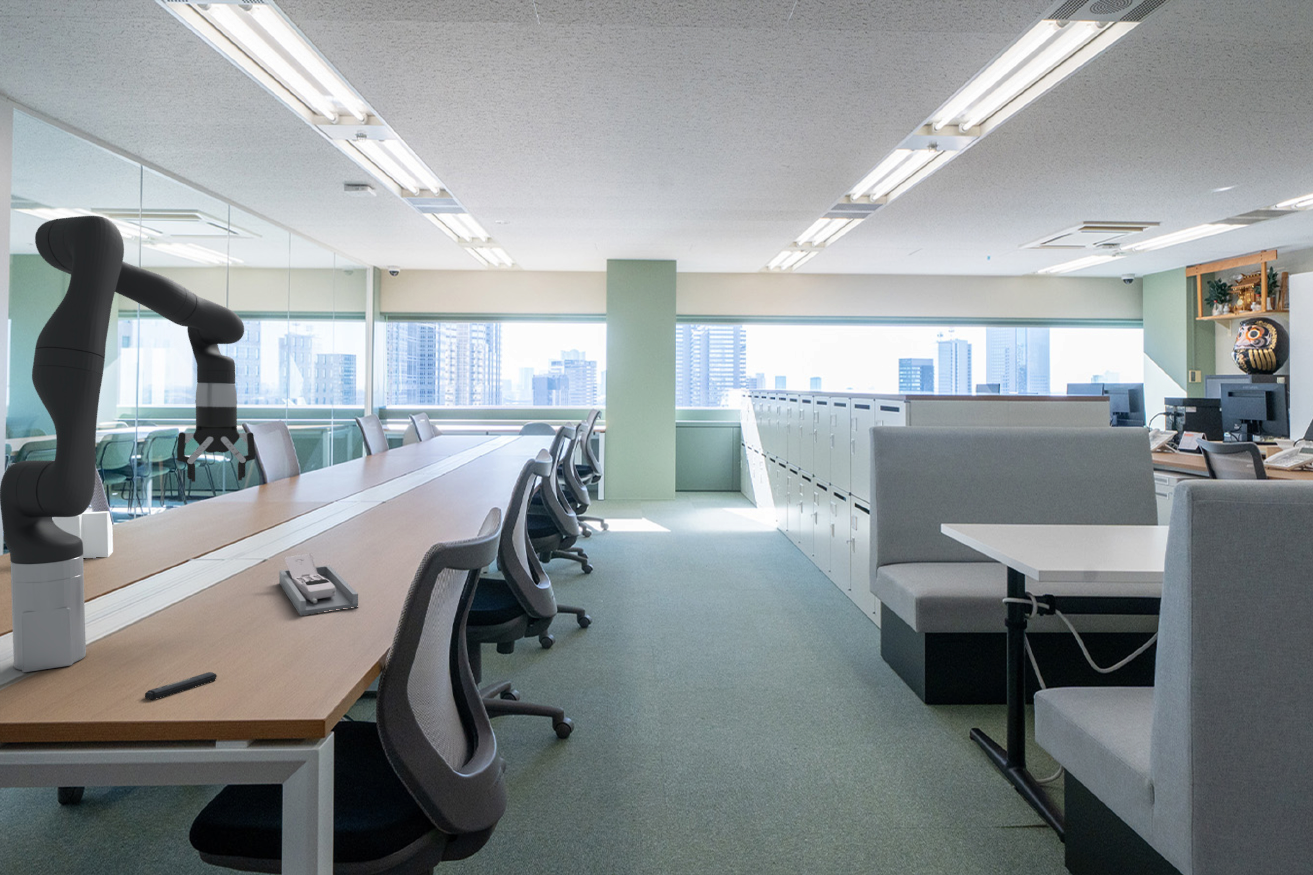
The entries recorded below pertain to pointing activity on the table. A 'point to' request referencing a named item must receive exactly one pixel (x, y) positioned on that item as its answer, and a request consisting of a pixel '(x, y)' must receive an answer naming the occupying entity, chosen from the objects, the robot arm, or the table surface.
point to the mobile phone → (309, 578)
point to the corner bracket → (90, 532)
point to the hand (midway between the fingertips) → (217, 480)
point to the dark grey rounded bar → (180, 685)
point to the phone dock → (342, 598)
